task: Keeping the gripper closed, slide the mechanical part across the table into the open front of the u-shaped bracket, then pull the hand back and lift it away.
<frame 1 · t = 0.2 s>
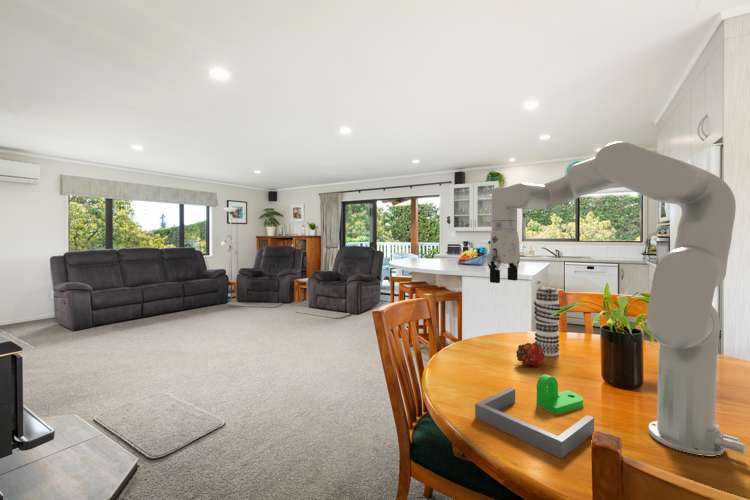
hand: (503, 281, 112), 31 cm above the table, tool pointing down, fingers open, 9 cm apart
dragon fruit: (530, 365, 125), on the table
u-shaped bracket: (533, 423, 86), on the table
mechanical part: (562, 406, 95), on the table
decorative candle: (546, 353, 137), on the table
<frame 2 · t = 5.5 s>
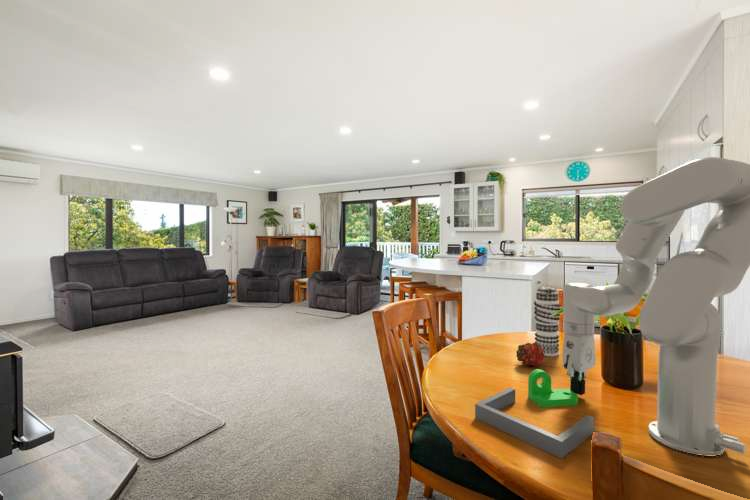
hand: (577, 392, 100), 1 cm above the table, tool pointing down, fingers closed
mechanical part: (554, 402, 97), on the table, touching gripper
everything else where it was.
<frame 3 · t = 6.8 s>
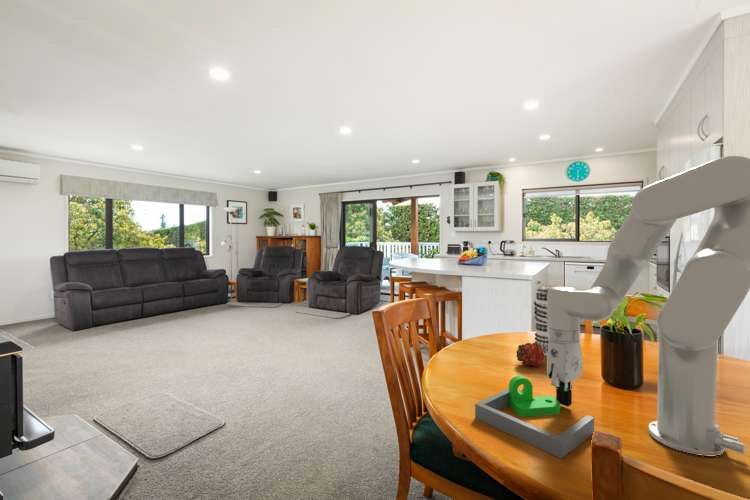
hand: (563, 403, 94), 1 cm above the table, tool pointing down, fingers closed
mechanical part: (536, 410, 93), on the table, touching gripper, u-shaped bracket
everything else where it was.
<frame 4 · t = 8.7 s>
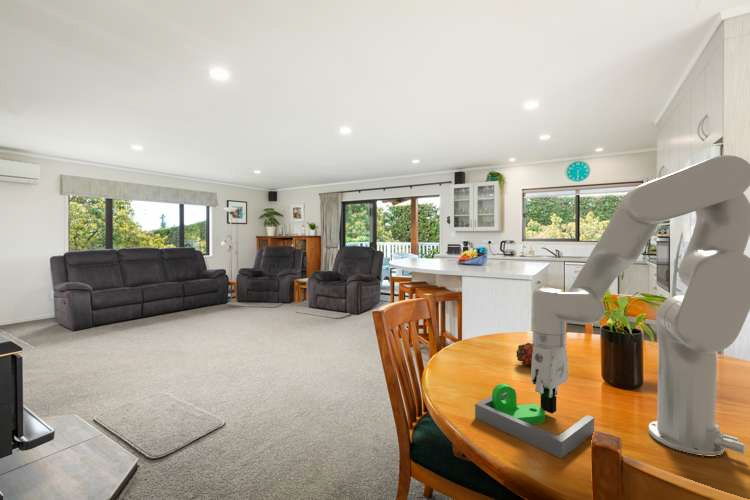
hand: (548, 410, 90), 1 cm above the table, tool pointing down, fingers closed
mechanical part: (520, 419, 88), on the table, touching gripper
everything else where it was.
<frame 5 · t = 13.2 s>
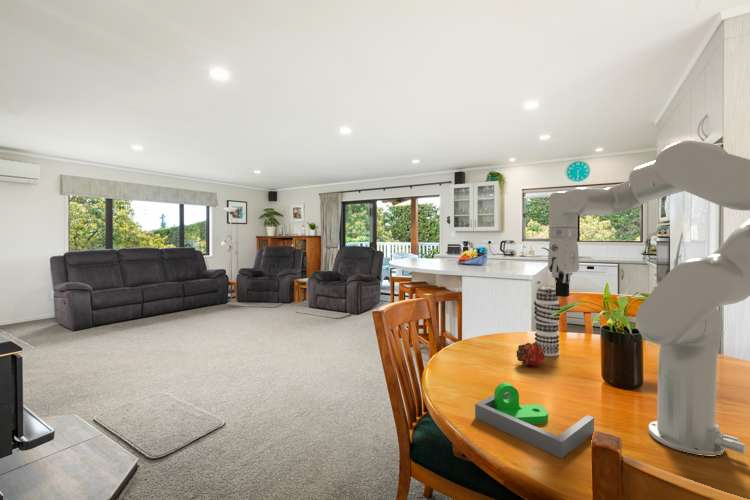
hand: (562, 295, 106), 27 cm above the table, tool pointing down, fingers closed
mechanical part: (522, 419, 88), on the table
everything else where it was.
at the end: mechanical part inside the target area on the u-shaped bracket (3.2 cm from its centre), point -0.5 cm above the u-shaped bracket's base; mechanical part tilted 0°; mechanical part moved 14.7 cm from its start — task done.
